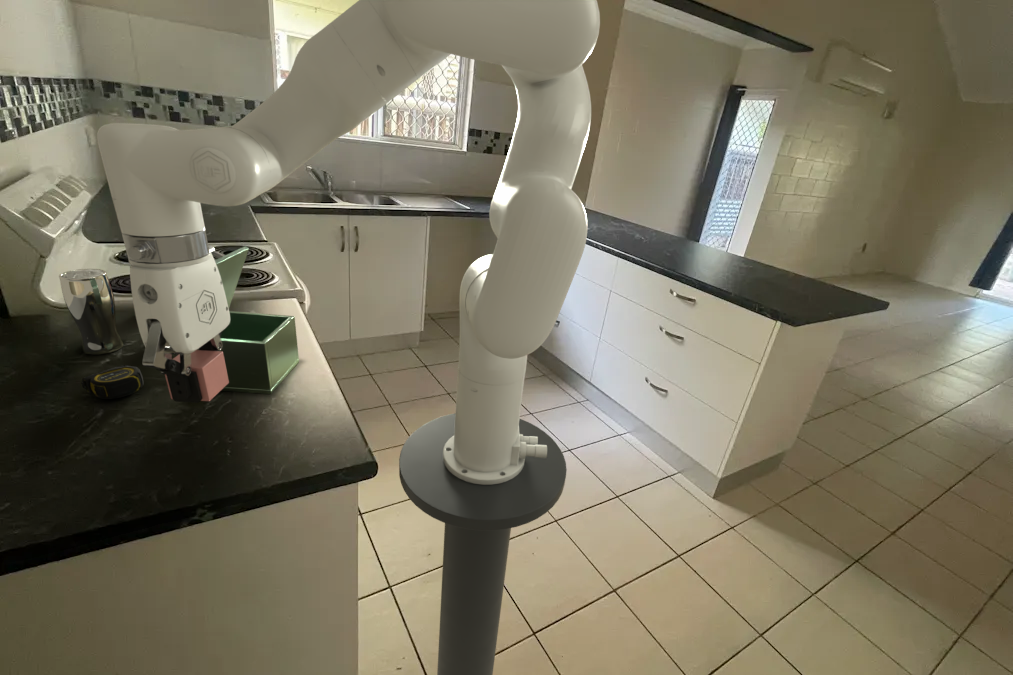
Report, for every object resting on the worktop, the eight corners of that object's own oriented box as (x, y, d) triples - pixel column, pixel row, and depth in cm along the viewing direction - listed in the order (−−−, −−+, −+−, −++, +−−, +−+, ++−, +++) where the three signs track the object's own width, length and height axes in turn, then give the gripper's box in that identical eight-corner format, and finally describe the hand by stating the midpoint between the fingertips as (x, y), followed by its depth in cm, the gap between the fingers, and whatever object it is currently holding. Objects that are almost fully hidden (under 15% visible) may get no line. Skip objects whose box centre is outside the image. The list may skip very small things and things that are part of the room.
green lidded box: (299, 361, 94) (294, 316, 90) (271, 394, 82) (264, 343, 78) (234, 356, 93) (227, 310, 89) (197, 389, 82) (186, 337, 78)
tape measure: (131, 378, 83) (126, 359, 81) (154, 390, 80) (149, 371, 79) (84, 395, 77) (78, 375, 76) (107, 408, 75) (101, 388, 73)
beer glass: (78, 345, 92) (56, 270, 86) (123, 337, 96) (105, 266, 90) (81, 359, 87) (58, 281, 81) (128, 350, 92) (109, 276, 86)
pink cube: (229, 382, 62) (223, 351, 60) (209, 401, 58) (202, 368, 56) (193, 380, 62) (186, 349, 60) (171, 399, 57) (162, 366, 56)
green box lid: (249, 247, 85) (218, 232, 83) (210, 266, 73) (173, 249, 72) (228, 309, 89) (198, 296, 88) (188, 336, 78) (153, 321, 77)
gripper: (151, 270, 44) (191, 430, 52) (241, 232, 60) (262, 360, 67) (69, 265, 44) (121, 427, 52) (181, 228, 60) (208, 357, 67)
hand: (200, 388), depth 59 cm, fingers closed on pink cube, 4 cm apart
